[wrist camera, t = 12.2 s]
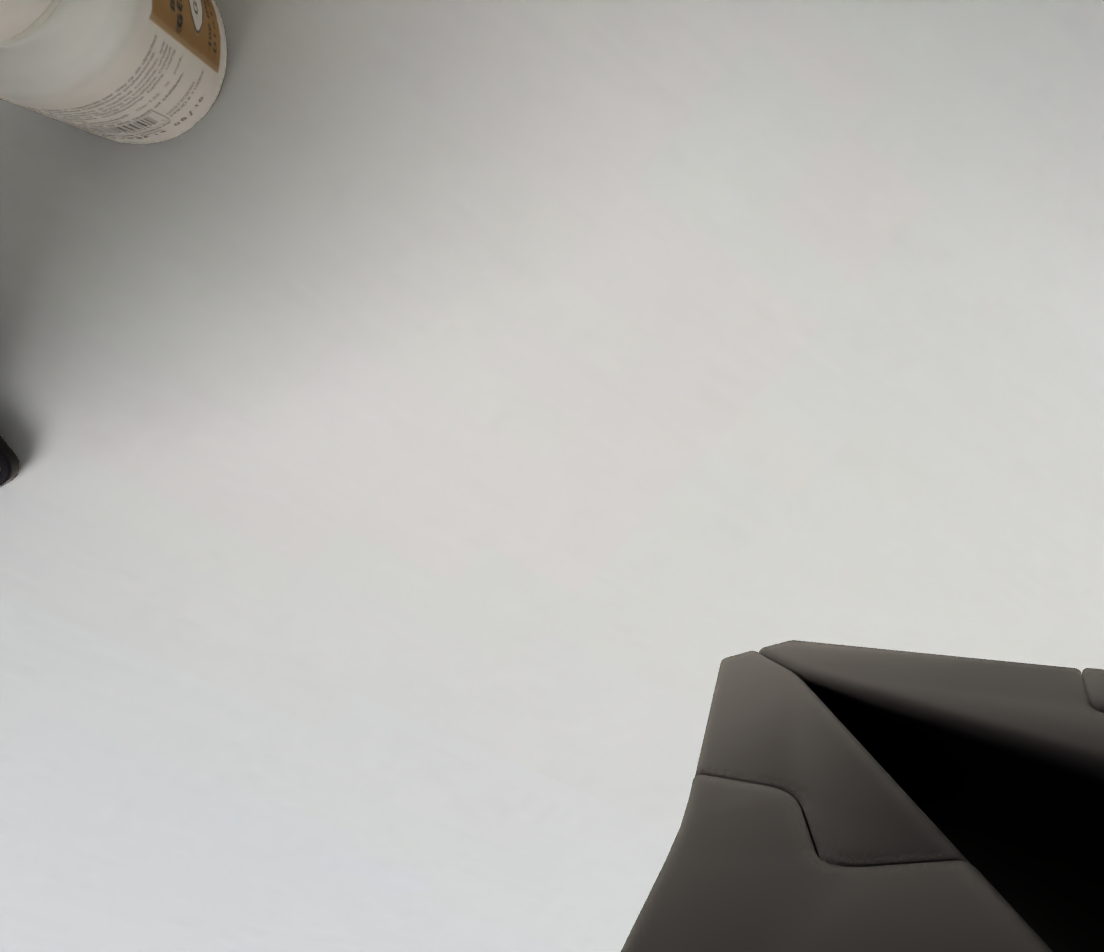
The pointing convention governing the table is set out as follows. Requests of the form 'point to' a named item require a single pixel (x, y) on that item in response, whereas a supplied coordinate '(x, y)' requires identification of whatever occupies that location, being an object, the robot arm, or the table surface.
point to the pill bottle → (114, 63)
